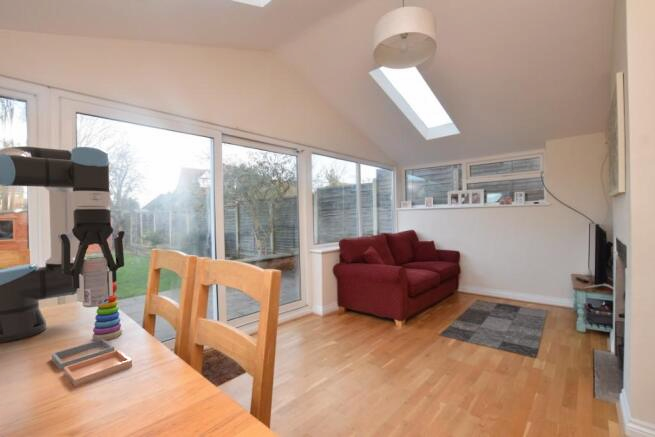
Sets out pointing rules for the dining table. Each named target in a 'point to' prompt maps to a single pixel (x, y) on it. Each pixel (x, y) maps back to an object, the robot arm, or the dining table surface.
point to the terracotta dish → (96, 367)
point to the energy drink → (95, 281)
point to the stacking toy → (108, 319)
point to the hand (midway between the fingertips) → (95, 297)
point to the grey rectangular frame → (80, 348)
